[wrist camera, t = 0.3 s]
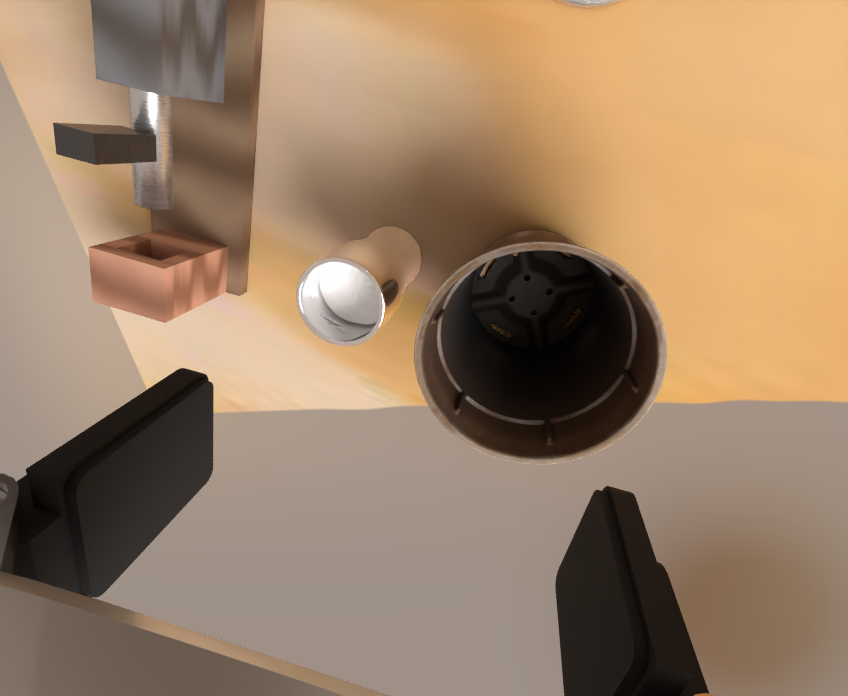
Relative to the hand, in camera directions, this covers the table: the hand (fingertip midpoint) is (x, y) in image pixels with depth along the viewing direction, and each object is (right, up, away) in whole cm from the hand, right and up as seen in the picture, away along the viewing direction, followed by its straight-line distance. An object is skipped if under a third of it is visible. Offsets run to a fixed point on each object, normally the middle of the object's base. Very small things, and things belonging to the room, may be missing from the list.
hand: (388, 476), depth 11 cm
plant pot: (+11, +8, +34) cm, 37 cm away
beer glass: (-2, +12, +36) cm, 38 cm away
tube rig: (-20, +23, +34) cm, 46 cm away
